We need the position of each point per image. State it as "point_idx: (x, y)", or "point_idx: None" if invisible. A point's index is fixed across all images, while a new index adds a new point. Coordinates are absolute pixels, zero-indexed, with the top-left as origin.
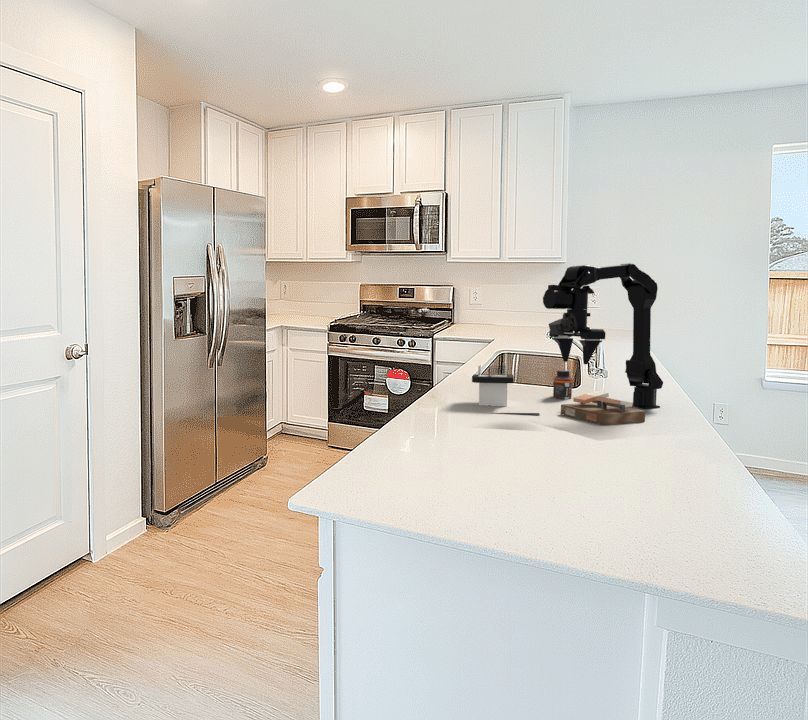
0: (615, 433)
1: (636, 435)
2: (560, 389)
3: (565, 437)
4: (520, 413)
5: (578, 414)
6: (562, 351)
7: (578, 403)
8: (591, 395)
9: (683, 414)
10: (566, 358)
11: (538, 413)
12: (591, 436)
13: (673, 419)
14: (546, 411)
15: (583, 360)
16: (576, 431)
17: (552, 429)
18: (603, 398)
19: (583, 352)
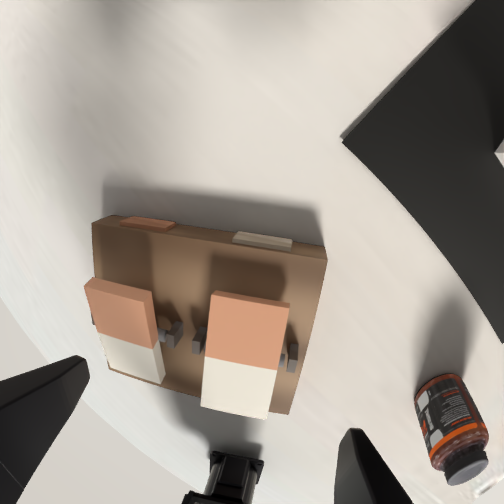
0: (42, 157)
1: (21, 186)
2: (449, 411)
3: (67, 18)
4: (399, 102)
5: (218, 234)
6: (376, 499)
7: (306, 340)
8: (234, 361)
9: (175, 464)
10: (343, 461)
11: (364, 160)
12: (45, 78)
13: (133, 415)
14: (400, 252)
15: (63, 368)
16: (87, 75)
17: (134, 27)
18: (108, 289)
19: (7, 395)
